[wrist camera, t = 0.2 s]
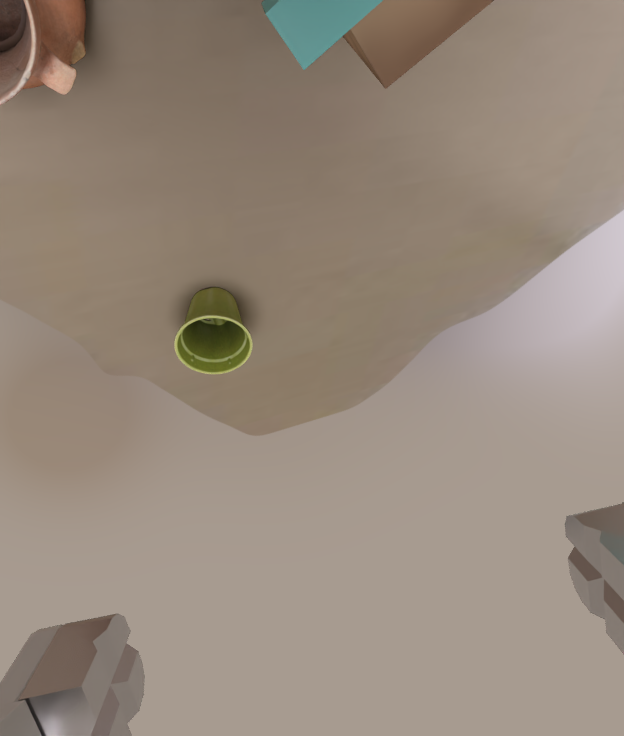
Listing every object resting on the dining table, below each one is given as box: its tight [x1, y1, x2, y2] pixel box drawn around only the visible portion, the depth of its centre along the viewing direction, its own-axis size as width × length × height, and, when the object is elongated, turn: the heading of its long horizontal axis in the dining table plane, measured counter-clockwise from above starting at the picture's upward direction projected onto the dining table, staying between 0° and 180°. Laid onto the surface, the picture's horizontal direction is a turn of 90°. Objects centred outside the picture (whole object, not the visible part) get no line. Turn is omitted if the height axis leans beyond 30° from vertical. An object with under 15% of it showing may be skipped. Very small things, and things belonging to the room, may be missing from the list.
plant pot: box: [174, 287, 253, 374], centre depth 67 cm, size 9×9×9 cm
